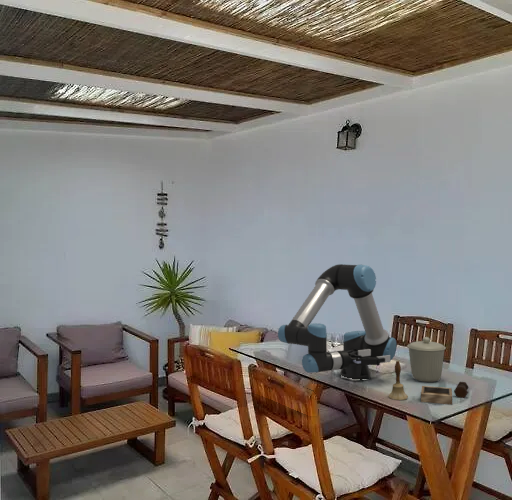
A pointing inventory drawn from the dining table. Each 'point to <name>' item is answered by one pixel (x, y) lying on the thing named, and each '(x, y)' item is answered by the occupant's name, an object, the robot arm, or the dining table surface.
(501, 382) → the dining table surface
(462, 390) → the bolt
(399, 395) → the hand bell
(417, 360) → the canister
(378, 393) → the dining table surface
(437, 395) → the square tray
